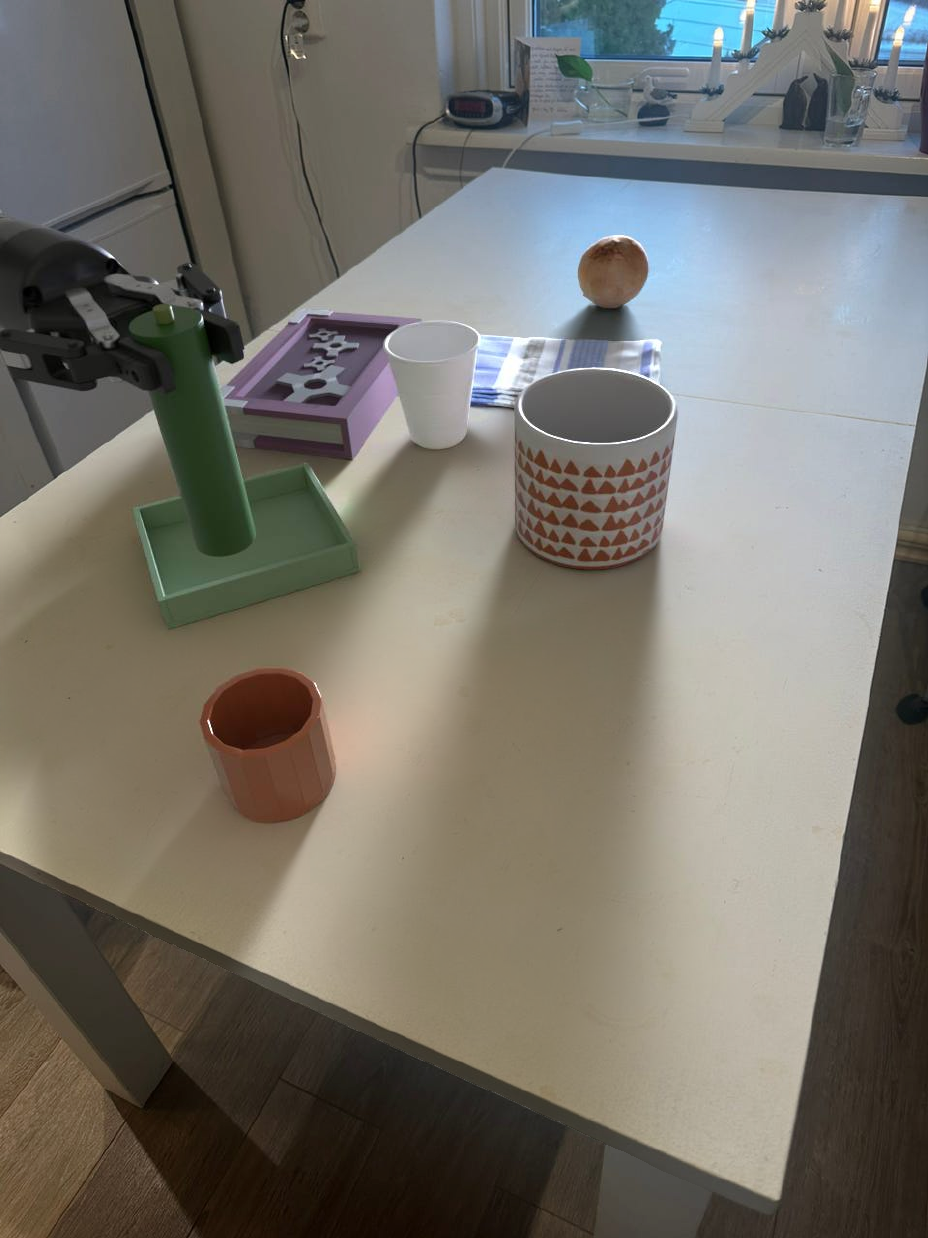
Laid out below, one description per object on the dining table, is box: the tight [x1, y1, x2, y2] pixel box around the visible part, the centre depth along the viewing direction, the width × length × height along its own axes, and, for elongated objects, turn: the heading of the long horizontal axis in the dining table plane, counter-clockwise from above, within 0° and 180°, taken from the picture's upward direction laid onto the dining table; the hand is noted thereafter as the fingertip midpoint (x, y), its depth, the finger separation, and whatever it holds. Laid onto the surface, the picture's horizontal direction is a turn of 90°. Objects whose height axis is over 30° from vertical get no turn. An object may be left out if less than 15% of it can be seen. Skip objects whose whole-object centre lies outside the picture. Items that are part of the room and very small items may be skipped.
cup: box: [383, 320, 481, 450], centre depth 92 cm, size 10×10×11 cm
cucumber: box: [129, 304, 256, 557], centre depth 53 cm, size 4×4×16 cm
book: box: [220, 308, 423, 460], centre depth 102 cm, size 25×16×5 cm, turn 164°
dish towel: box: [470, 334, 663, 409], centre depth 103 cm, size 17×24×3 cm
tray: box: [131, 462, 361, 630], centre depth 80 cm, size 17×15×3 cm
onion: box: [577, 234, 650, 309], centre depth 117 cm, size 10×9×10 cm
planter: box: [513, 368, 679, 571], centre depth 78 cm, size 14×14×13 cm
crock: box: [199, 666, 337, 824], centre depth 59 cm, size 8×8×7 cm
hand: (202, 359), depth 48 cm, fingers closed on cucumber, 4 cm apart
